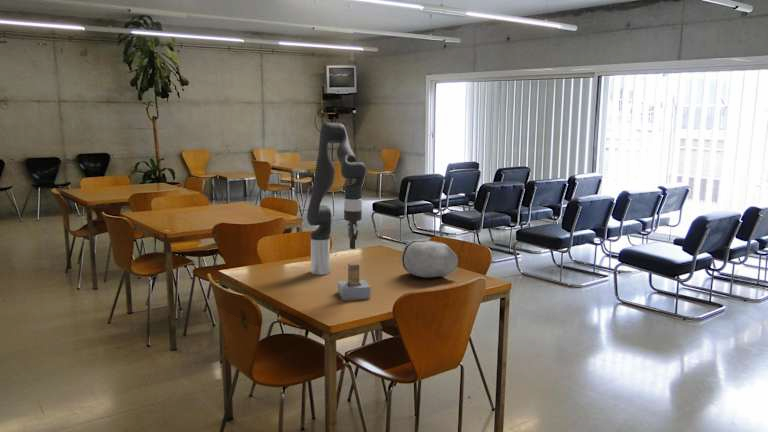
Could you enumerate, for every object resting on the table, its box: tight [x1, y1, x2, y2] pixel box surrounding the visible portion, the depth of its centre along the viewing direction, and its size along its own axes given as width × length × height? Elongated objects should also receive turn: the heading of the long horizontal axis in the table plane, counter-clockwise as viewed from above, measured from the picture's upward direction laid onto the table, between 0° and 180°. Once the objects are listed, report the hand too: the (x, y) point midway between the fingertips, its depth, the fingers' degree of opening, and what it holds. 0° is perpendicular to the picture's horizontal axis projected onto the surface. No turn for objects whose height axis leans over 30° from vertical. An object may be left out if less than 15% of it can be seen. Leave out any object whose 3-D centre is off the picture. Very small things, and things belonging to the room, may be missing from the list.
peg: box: [347, 262, 360, 286], centre depth 261 cm, size 4×4×14 cm
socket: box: [337, 279, 371, 301], centre depth 262 cm, size 12×12×5 cm
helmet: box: [401, 239, 459, 279], centre depth 295 cm, size 18×25×30 cm
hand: (352, 248), depth 261 cm, fingers closed
